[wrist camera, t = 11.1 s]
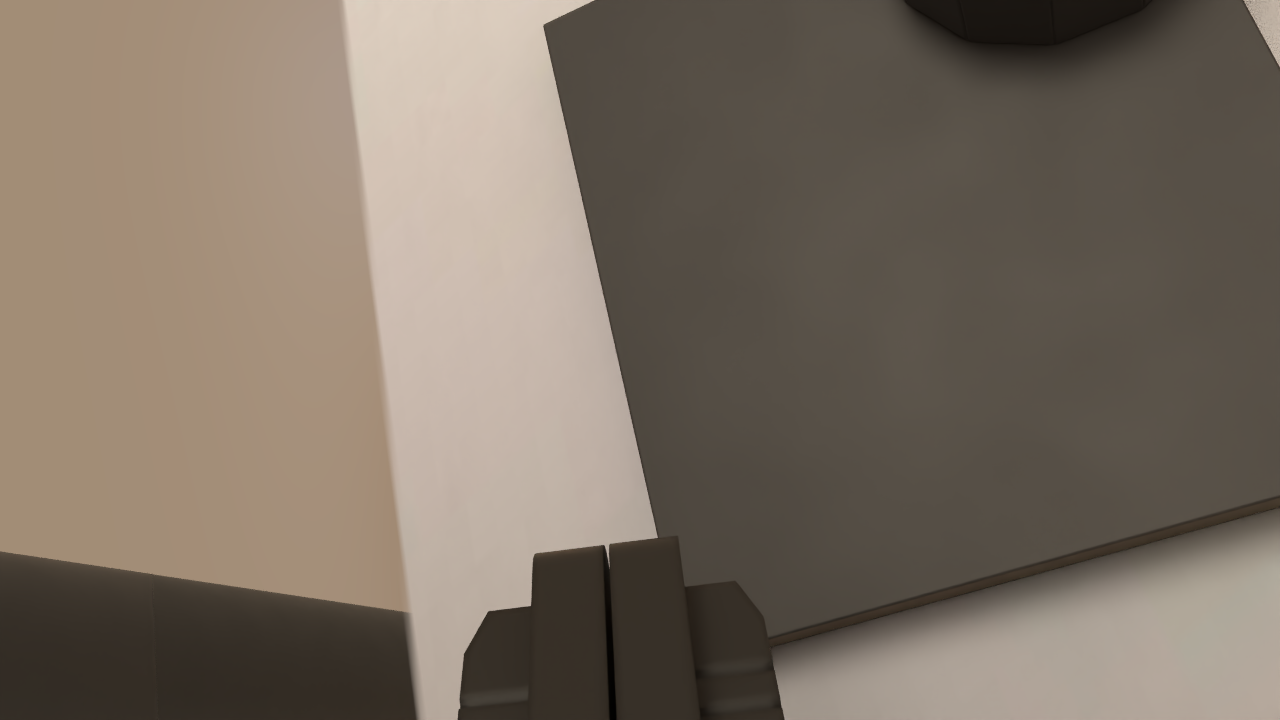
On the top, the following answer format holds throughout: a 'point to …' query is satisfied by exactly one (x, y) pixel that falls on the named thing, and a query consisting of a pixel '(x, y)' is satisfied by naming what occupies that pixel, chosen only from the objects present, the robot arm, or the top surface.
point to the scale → (931, 282)
